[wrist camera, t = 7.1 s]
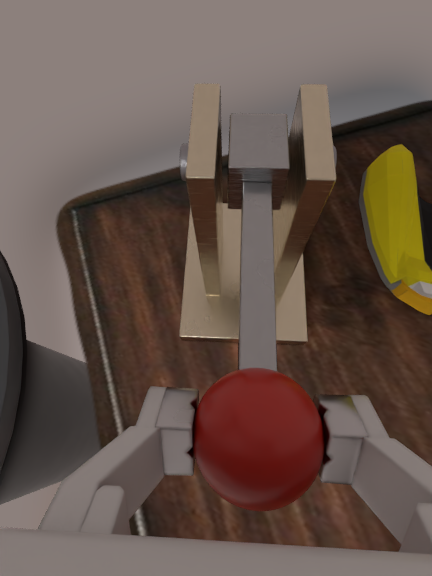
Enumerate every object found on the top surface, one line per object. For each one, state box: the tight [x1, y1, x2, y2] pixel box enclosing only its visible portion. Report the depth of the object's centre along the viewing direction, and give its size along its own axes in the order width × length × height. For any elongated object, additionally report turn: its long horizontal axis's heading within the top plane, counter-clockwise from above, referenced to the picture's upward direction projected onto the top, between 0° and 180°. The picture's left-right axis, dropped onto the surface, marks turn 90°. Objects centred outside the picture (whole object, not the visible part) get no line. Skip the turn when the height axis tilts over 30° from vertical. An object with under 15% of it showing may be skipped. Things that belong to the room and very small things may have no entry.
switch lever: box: [193, 113, 324, 511], centre depth 11 cm, size 13×4×4 cm, turn 177°
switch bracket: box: [179, 84, 337, 345], centre depth 18 cm, size 10×8×13 cm
